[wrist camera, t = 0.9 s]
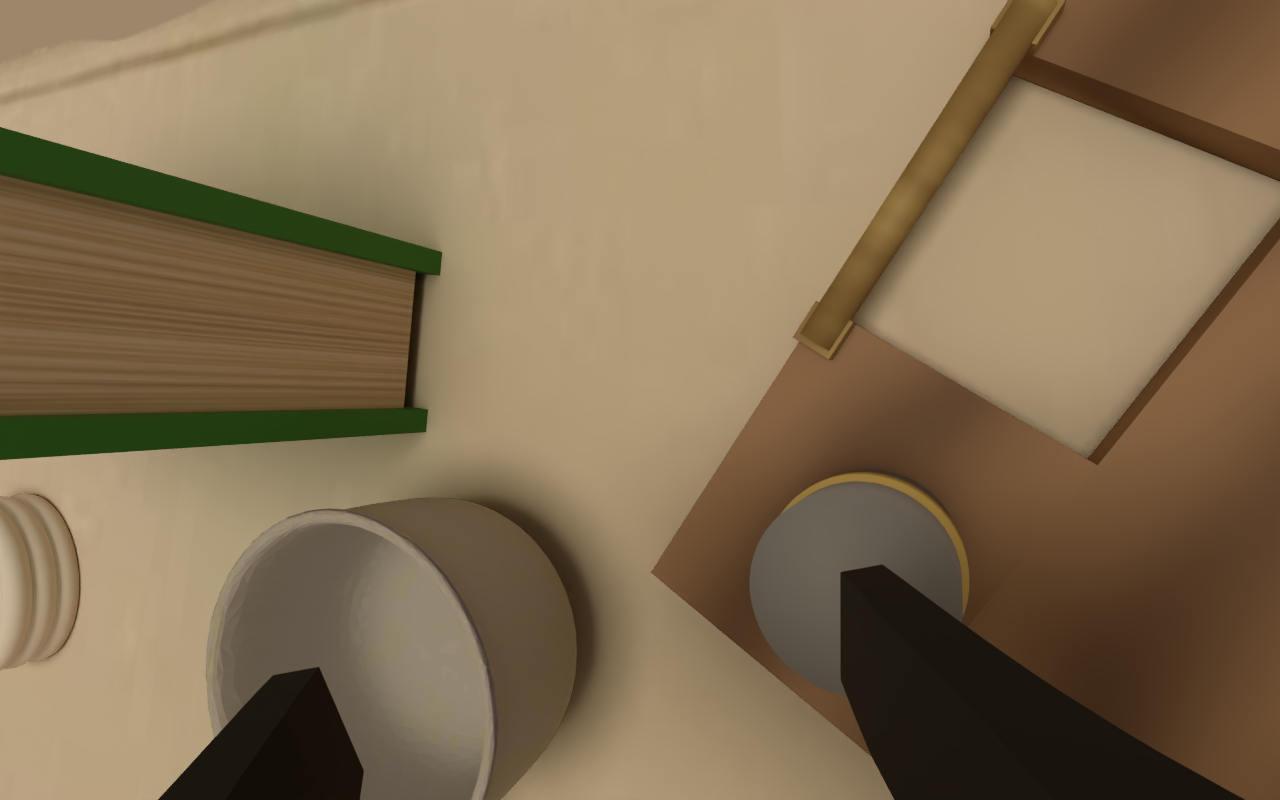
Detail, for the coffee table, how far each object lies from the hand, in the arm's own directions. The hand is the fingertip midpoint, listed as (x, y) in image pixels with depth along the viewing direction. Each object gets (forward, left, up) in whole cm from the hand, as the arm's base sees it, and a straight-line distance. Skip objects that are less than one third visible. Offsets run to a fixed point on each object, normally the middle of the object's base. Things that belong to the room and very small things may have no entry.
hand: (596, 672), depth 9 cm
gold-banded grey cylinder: (-2, -1, -12) cm, 12 cm away
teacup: (+7, +12, -14) cm, 19 cm away
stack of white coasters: (+35, +31, -14) cm, 48 cm away
